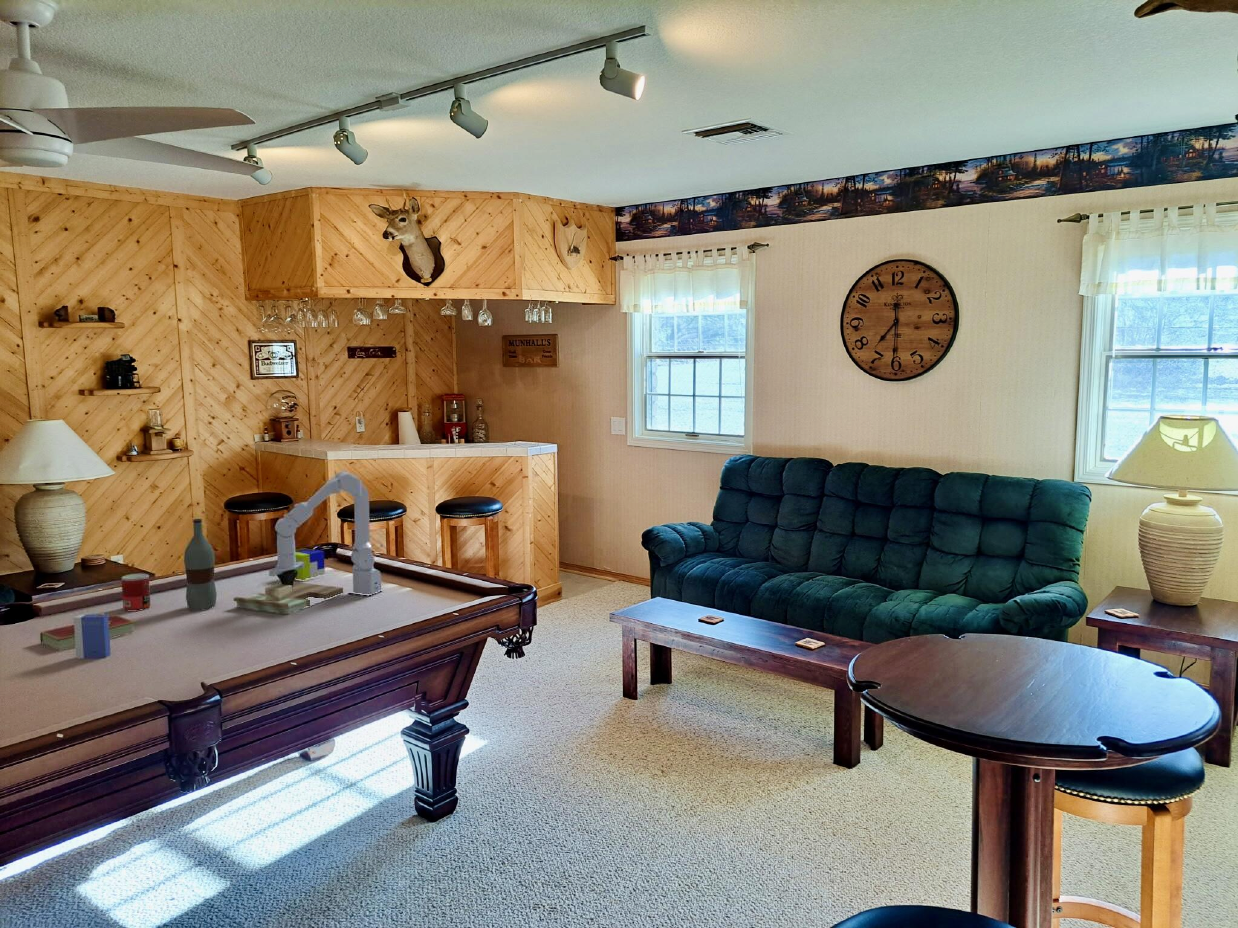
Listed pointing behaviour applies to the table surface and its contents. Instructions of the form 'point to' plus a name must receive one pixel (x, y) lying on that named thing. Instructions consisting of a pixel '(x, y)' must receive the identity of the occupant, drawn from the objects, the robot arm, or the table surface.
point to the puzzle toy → (310, 563)
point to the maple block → (278, 592)
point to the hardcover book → (66, 635)
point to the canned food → (136, 591)
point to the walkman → (92, 636)
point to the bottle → (200, 571)
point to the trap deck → (291, 604)
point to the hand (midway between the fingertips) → (287, 592)
